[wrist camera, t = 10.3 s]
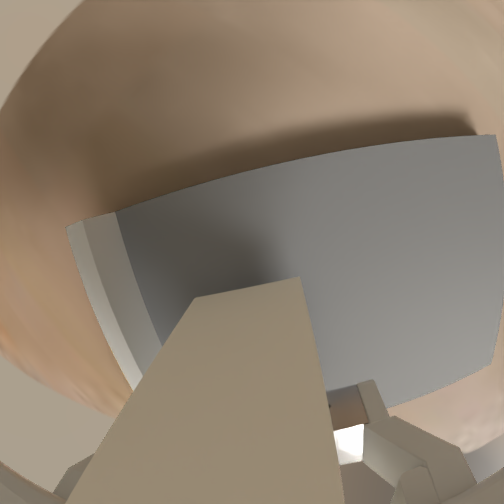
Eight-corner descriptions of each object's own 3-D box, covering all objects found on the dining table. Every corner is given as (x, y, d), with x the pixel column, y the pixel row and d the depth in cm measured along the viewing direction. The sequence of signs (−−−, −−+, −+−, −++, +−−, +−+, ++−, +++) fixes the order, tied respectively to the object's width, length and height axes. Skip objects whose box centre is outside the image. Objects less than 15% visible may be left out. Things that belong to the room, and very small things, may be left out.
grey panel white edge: (110, 215, 13) (60, 229, 9) (479, 136, 10) (526, 131, 7) (194, 421, 16) (179, 465, 12) (480, 352, 13) (509, 384, 10)
